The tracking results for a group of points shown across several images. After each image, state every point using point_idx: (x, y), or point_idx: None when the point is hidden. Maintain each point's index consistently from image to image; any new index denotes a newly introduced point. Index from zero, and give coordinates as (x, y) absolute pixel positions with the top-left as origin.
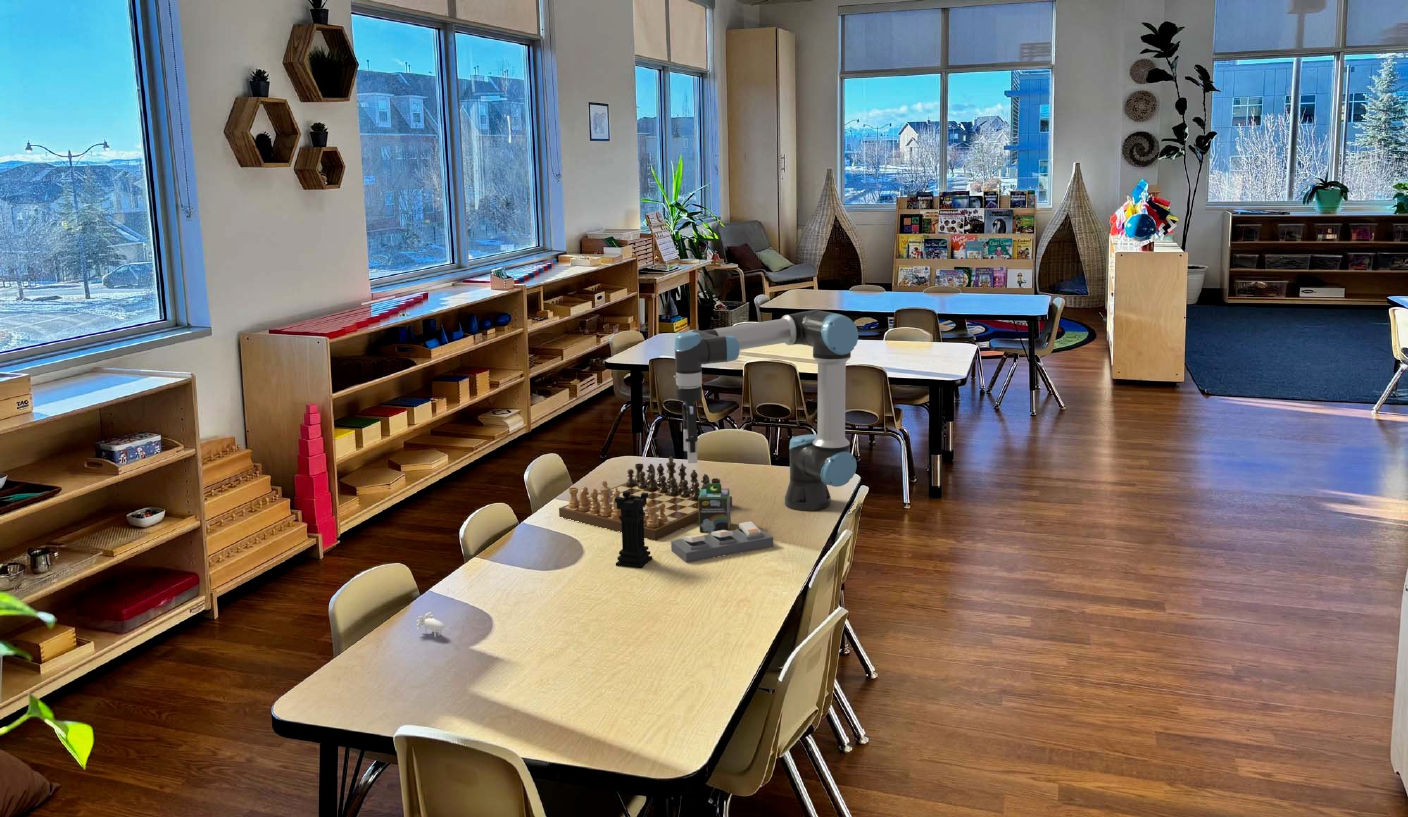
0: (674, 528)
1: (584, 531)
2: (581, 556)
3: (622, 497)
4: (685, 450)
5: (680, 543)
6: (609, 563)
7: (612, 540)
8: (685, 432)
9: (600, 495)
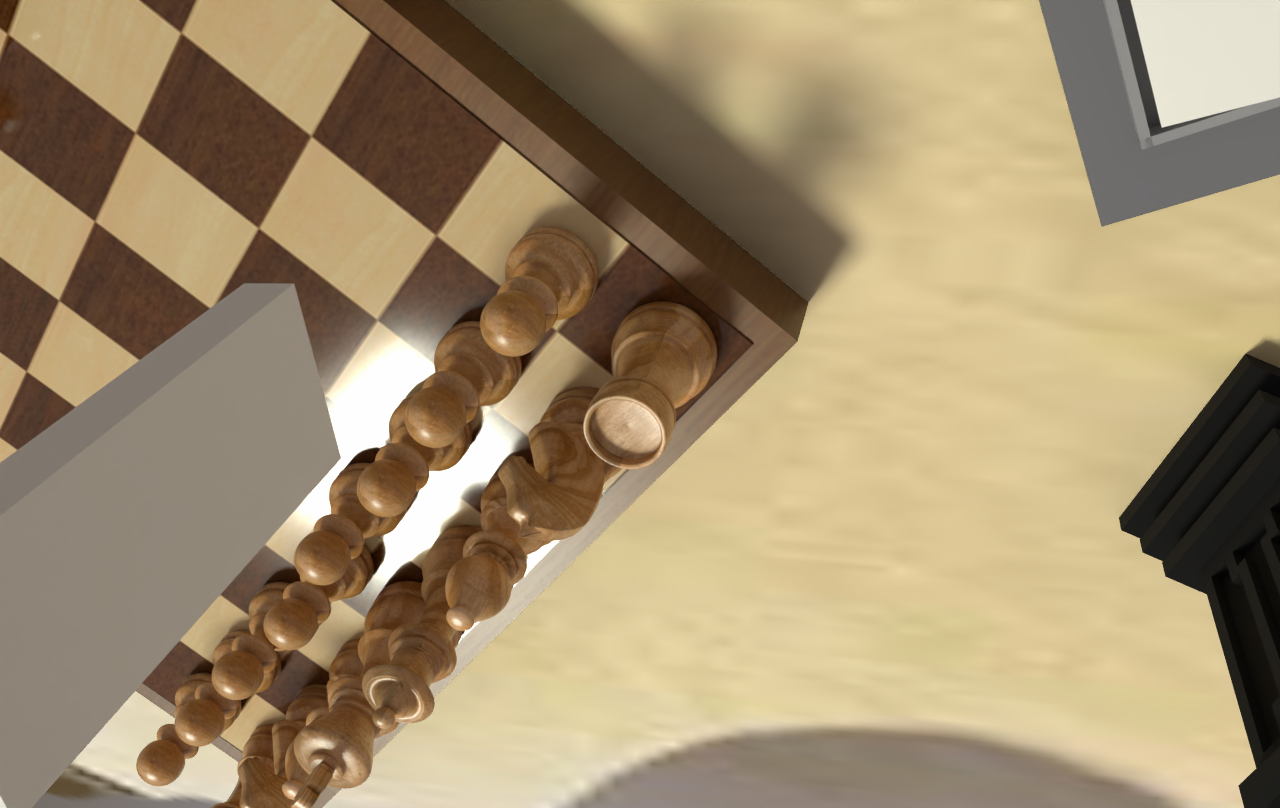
0: (606, 151)
1: (571, 689)
2: (1037, 753)
3: None
4: (326, 438)
5: (1196, 143)
6: None
7: (757, 569)
8: (46, 720)
9: None
